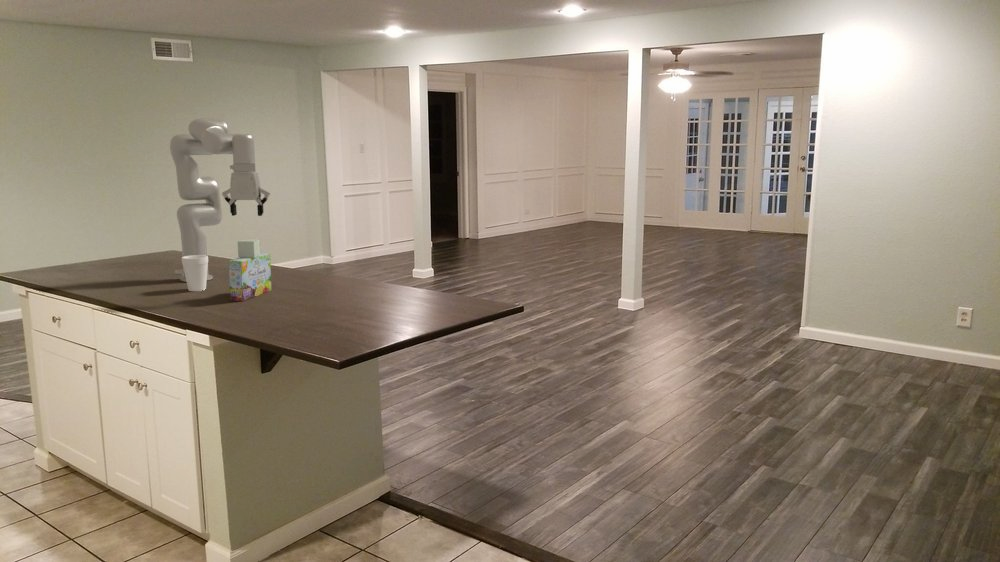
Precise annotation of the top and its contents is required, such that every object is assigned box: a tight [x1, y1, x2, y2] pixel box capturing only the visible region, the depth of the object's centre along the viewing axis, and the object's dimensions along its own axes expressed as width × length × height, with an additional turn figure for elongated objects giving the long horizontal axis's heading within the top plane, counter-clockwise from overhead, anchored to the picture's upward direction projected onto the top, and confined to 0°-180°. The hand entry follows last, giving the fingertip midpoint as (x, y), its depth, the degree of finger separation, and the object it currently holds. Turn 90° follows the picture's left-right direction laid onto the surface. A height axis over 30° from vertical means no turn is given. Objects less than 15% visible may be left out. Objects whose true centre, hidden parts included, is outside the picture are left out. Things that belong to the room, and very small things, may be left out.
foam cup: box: [181, 255, 209, 292], centre depth 290 cm, size 10×9×13 cm
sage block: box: [237, 238, 261, 258], centre depth 277 cm, size 6×6×6 cm
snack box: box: [228, 252, 272, 302], centre depth 279 cm, size 21×6×15 cm, turn 168°
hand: (247, 215), depth 275 cm, fingers open, 9 cm apart
